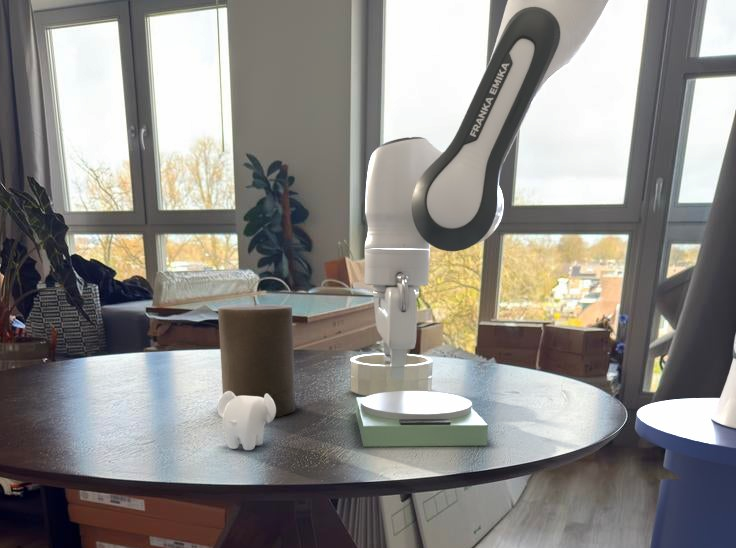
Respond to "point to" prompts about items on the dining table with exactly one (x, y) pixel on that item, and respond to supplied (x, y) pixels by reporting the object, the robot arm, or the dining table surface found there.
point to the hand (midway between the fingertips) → (393, 373)
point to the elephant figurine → (245, 418)
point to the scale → (419, 420)
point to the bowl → (376, 376)
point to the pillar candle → (258, 352)
